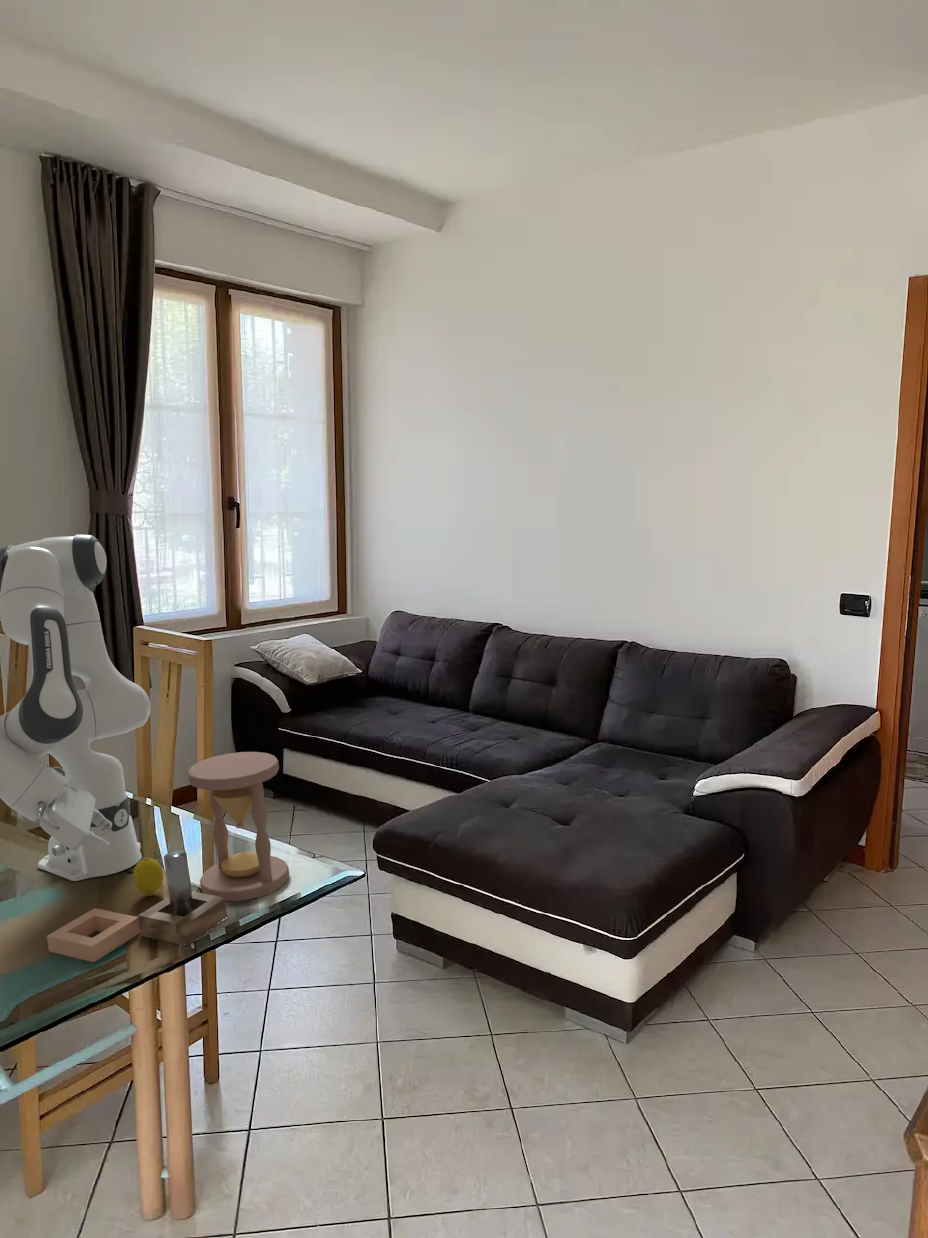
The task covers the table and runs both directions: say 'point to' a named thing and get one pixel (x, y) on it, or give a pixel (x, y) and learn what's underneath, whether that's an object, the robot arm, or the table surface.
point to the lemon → (148, 876)
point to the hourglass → (239, 824)
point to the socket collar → (112, 935)
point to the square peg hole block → (183, 919)
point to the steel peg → (178, 883)
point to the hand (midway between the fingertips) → (108, 838)
